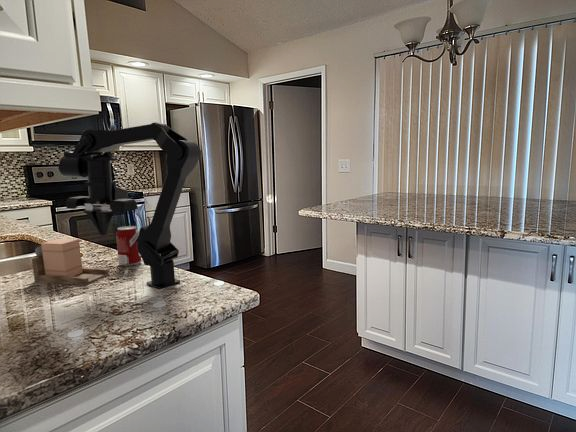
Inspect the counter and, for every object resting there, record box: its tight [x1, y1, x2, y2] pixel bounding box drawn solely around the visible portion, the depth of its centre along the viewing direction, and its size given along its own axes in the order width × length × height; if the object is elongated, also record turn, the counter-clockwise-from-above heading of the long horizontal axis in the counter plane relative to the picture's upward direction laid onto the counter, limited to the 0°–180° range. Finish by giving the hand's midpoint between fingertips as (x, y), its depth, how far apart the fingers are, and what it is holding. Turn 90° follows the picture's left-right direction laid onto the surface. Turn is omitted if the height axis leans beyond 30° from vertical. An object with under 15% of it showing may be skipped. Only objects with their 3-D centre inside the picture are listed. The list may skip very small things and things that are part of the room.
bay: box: [31, 245, 110, 286], centre depth 107 cm, size 18×9×10 cm, turn 77°
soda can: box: [115, 225, 142, 267], centre depth 120 cm, size 7×7×12 cm
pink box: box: [40, 238, 83, 277], centre depth 108 cm, size 7×6×10 cm
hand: (103, 235), depth 103 cm, fingers closed
